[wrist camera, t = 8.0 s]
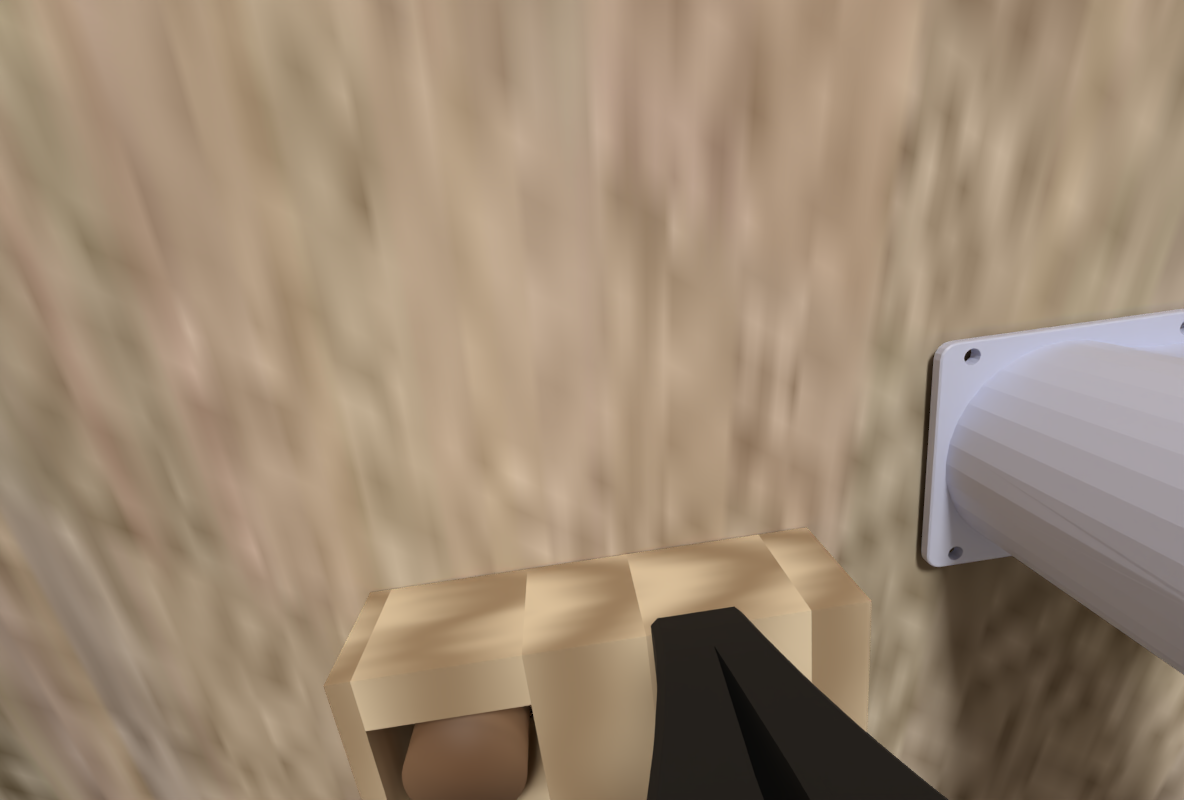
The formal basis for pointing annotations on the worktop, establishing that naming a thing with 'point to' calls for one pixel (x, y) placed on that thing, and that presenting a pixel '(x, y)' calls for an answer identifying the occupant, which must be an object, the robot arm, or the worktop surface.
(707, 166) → the worktop surface
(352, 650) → the maple board
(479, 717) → the walnut peg
